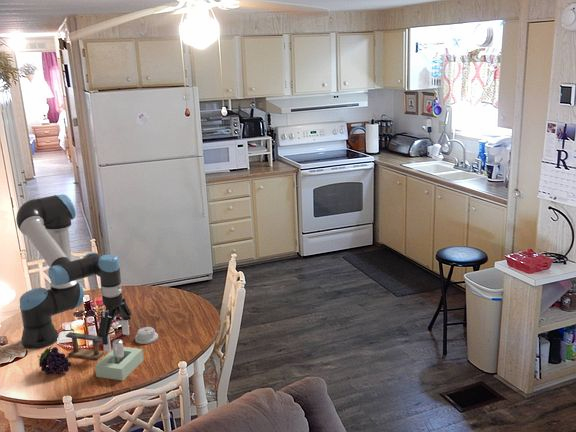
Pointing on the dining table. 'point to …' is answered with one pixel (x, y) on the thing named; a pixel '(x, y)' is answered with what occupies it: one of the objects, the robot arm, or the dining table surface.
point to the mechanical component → (146, 335)
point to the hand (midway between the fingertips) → (117, 342)
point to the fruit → (53, 361)
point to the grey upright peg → (118, 351)
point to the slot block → (121, 370)
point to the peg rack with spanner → (84, 352)
